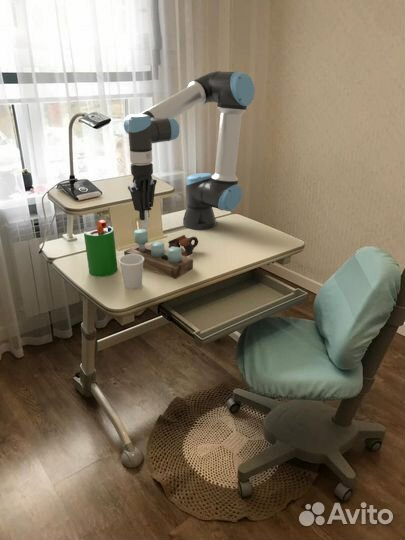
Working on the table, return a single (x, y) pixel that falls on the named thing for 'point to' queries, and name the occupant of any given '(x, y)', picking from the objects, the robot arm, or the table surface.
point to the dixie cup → (132, 270)
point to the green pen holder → (101, 251)
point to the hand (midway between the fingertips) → (145, 227)
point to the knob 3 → (174, 254)
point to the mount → (162, 262)
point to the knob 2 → (157, 249)
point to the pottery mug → (184, 244)
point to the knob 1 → (141, 238)
